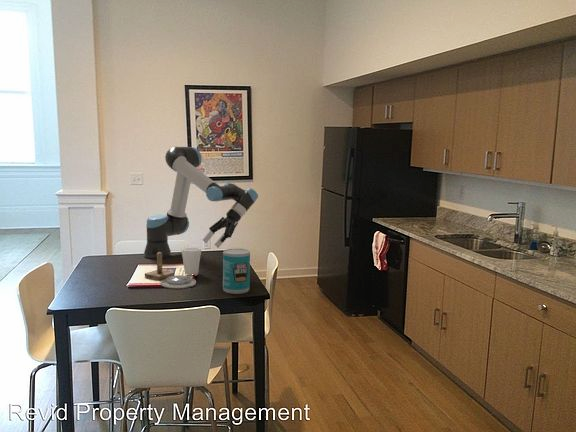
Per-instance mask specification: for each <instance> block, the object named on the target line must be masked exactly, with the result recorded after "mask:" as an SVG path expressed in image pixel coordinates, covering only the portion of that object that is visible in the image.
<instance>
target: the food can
mask: <svg viewBox="0 0 576 432" xmlns="http://www.w3.org/2000/svg"><path fill="white" fill-rule="evenodd" d="M222 254H223V255H222V257H223V258H222V265H223V266H222V290H223V292H225V293H227V294H232V295H239V294H245V293H246V294H247V293H248V292H250V285H251V283H250V282H251V281H250V276H251V275H250V273H251V271H250V270H251V251H250V250H249V249H247V248H246V249H245V248H228V249H224V250H223V252H222Z"/></svg>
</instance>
